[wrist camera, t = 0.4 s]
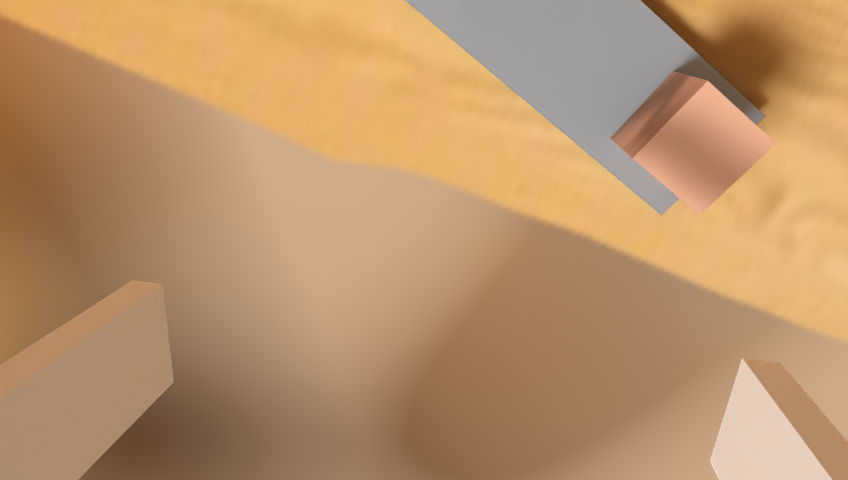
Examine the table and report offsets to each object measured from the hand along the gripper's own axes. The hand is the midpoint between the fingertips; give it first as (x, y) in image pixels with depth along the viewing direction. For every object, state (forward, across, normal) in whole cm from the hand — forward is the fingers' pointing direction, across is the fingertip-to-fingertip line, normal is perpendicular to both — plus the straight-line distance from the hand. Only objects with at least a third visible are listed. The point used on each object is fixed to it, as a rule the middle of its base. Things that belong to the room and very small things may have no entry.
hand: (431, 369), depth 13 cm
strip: (+25, +5, +7) cm, 26 cm away
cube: (+24, +11, +3) cm, 27 cm away
